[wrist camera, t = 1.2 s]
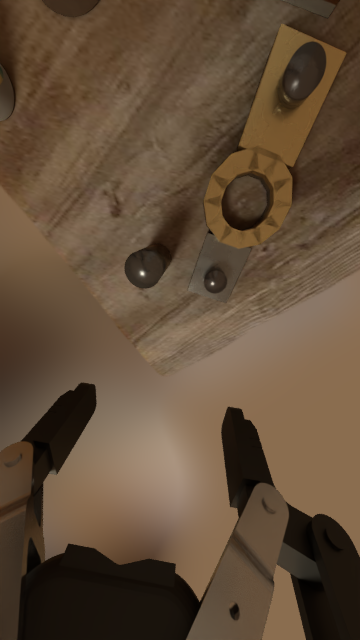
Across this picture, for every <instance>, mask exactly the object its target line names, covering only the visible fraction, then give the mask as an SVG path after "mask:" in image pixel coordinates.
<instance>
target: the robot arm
mask: <svg viewBox="0 0 360 640" xmlns="http://www.w3.org/2000/svg"><path fill="white" fill-rule="evenodd" d="M42 1H43V2H44V3H45V5H47V6H48V7H49V8H51V9H52V10H53V11H55V12H56V13H59V14H61V15H63V16H69V17H77V16H80V15H84V14H85V13H87V12H88V11H90V10H91V9H92V8H93V7H94V6H95V5H96V3H97V2H98V1H99V0H42ZM95 408H96V389H95V385H94V384H88V383H80V384H79V385H78V386H77V388H76V389H75V390H74V391H72V390H69V391H68V392H66V393H65V394H63V395H62V396H60V397H59V398H58V400H57V401H56V402H55V403H54V404H53V406H52V407H51V408H50V409H49V410H48V412H47V413H46V414H44V416H43V417H42V418H41V419H40V420H39V421H38V423H37V424H36V425H35V426H34V427H33V428H32V429H31V431H30V432H29V433H28V434H27V435H26V436H25V437H24V438H23V439H22V440H21V441H20V442H17V443H14V444H12V445H10V446H8V447H6V448H5V449H3V450H2V451H1V452H0V640H262V636H263V632H264V628H265V624H266V620H267V616H268V612H269V608H270V604H271V601H272V596H273V591H274V581H273V576H274V572H275V568H276V564H277V565H279V566H280V567H282V568H283V569H285V570H287V571H288V572H289V573H290V575H291V579H292V583H293V587H294V591H295V595H296V600H297V604H298V608H299V612H300V616H301V620H302V625H303V629H304V632H305V637H306V640H360V557H359V555H358V553H357V550H356V548H355V546H354V544H353V542H352V541H351V539H350V537H349V535H348V534H347V533H346V531H345V530H344V529H343V528H342V527H341V526H340V525H339V524H338V523H337V522H336V521H335V520H334V519H332V518H331V517H328V516H327V515H324V514H317V515H315V516H314V517H313V518H312V517H310V516H308V515H307V514H305V513H303V512H301V511H299V510H297V509H296V508H294V507H292V506H291V505H289V504H288V503H287V502H286V501H285V500H284V498H283V497H282V495H281V494H280V493H279V491H278V490H276V488H275V486H274V484H273V481H272V478H271V474H270V471H269V468H268V465H267V462H266V458H265V455H264V452H263V450H262V445H261V442H260V439H259V436H258V432H257V429H256V428H255V426H254V425H253V424H252V422H251V421H250V420H245V419H244V415H243V412H242V410H241V409H239V408H233V407H228V408H227V410H226V414H225V417H224V420H223V424H222V432H221V433H222V443H223V451H224V460H225V468H226V477H227V485H228V492H229V500H230V507H234V508H237V509H238V516H239V519H238V521H237V523H236V525H235V528H234V530H233V532H232V534H231V536H230V538H229V540H228V542H227V545H226V547H225V549H224V551H223V553H222V556H221V558H220V560H219V562H218V564H217V566H216V568H215V570H214V573H213V575H212V577H211V579H210V581H209V583H208V585H207V587H206V590H205V592H204V594H203V596H202V598H201V600H200V602H199V600H198V598H197V596H196V595H195V593H194V592H193V590H192V589H191V587H190V586H189V585H188V584H187V583H186V581H185V580H184V579H183V578H181V577H180V576H179V575H178V574H176V573H175V566H176V564H174V563H168V562H163V561H158V560H152V559H146V560H141V561H137V562H132V563H128V564H124V565H118V564H116V563H114V562H113V561H112V560H110V559H109V558H107V557H106V556H104V555H103V554H101V553H100V552H99V551H97V550H96V549H94V548H89V547H83V546H78V545H73V544H68V546H67V548H66V550H65V553H62V554H59V555H56V556H54V557H52V558H50V559H48V560H46V561H45V544H44V537H43V482H44V480H45V478H46V477H47V475H48V474H54V475H57V474H58V472H59V470H60V469H61V467H62V465H63V464H64V462H65V460H66V459H67V457H68V455H69V454H70V452H71V450H72V448H73V447H74V445H75V444H76V442H77V440H78V439H79V437H80V435H81V433H82V432H83V430H84V429H85V427H86V425H87V423H88V422H89V420H90V418H91V417H92V415H93V413H94V411H95Z"/></svg>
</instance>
